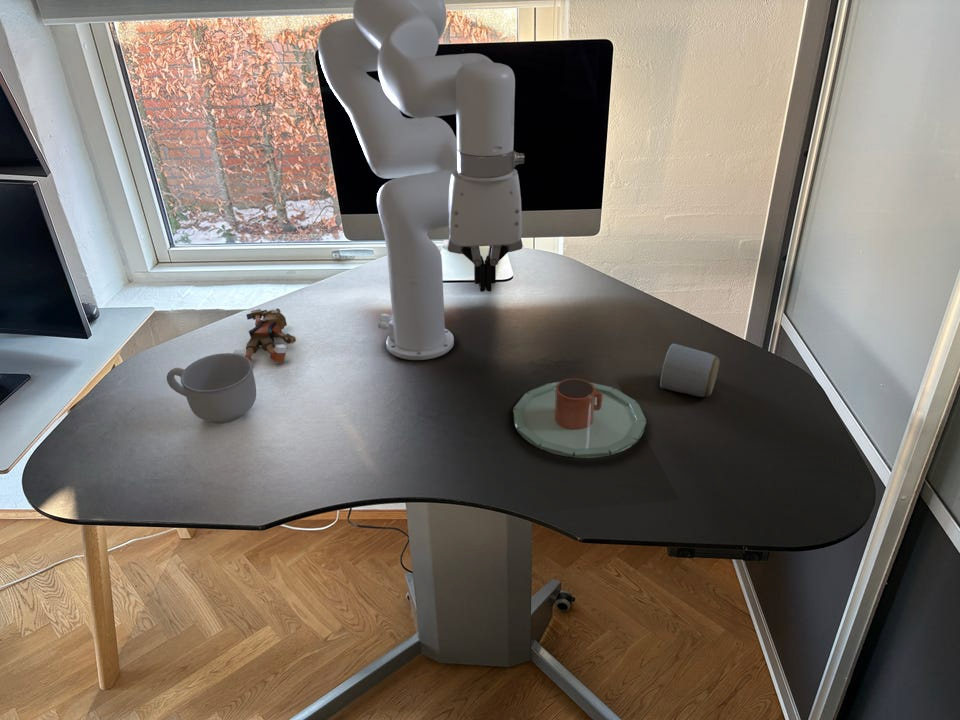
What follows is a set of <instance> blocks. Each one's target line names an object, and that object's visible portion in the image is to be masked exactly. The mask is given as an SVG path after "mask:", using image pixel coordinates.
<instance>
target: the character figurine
mask: <svg viewBox="0 0 960 720" xmlns="http://www.w3.org/2000/svg"><path fill="white" fill-rule="evenodd" d="M245 316H246V319H247V321H249V320H253V321H254V320H255V323H254V325H255V326H254V327H253V328H252V329H249V330H248V334H249V336H250V338H249V340H248V341H247V344H246V345H245V349H235V350H234V351H233V354H239V355H242V356H244V357H246V358H248V359H249V360H250V361H251V362H252V356H253V355H254V354H257V352H258V351H259V349H260V346H261V348H262V350H264V351H265V352H267V353H268V354H269V358H270V360H272V361H273V362H274V364H275V363H277V364H278V363H284V362H285V359H286V358H285V357H286V354H287V350H288V347H287V346H286V345H285V344H275V339H281V340H283V342H284V343H286V344H287V345H290V344H295V342H296V341H297V339H296V336H294V335H292V334H290V333H286V334H285V333H284V332H282V331H283V330H284V329H285V327H286V326H288V323H287V319H286V316H284V314H282V313H281V310H280V308H276V309H269V310H268V309H263V310H262V309H260V308H259V309H253V310H251V311H250V313H246V315H245Z"/></svg>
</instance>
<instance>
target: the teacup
mask: <svg viewBox="0 0 960 720" xmlns="http://www.w3.org/2000/svg"><path fill="white" fill-rule="evenodd" d="M233 353H234V352H233ZM233 353H232V352H231V353H230V352H223V353H214V354H211V355H207V356H203V357H201V358H198V359H197V360H195V361H193V362H191V364H190V365H188V366H187V367H186V368H185V369H184V368H182V367H173V368H171V369H170V370H169V371H168V372H167V374H166V382H167V385H168V387H170V388H171V389H172V390H173V391H174V392H176V393H177V394H179V395H181V396H183V397H185V398H186V400H187V404H188V406H189V408H190V410H191V411H192V413H193V414H194V415H195V416H196V417H198V418H199V419H200V420H201V419H202V420H204V421H206V422H207V421H208V422H212V423H228V422H232V421H235V420H237V419H239V418H240V417H242V416H243V415H245V414H246V413H247V412H248V411H249V410H250V409H251V408H252V407H253V405H254V403H255V401H256V398H257V385H256V380H255V379H256V378H255V374H254V369H253V368H254V366H253V362H252V361H250V360H249V359H248V358H246V357H244V356H242V355H239V354H233ZM175 376H177V377H180V383H181V384H180V383H179V382H178V381H177V380H176V378H175Z"/></svg>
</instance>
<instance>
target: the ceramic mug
mask: <svg viewBox="0 0 960 720" xmlns="http://www.w3.org/2000/svg"><path fill="white" fill-rule="evenodd" d="M719 368H720V358H719V357H718V356H717V355H714V354H712V353H710V352H707V351H702V350H700V349H699V350H698V349H695V348H692V347H688V346H685V345H681V344H677V343H671V344H670V346H669V348H668V350H667V352H666V355H665V358H664V361H663V365H662V370H661V375H660V382H659V387H660V388H661V389H664V390H668V391H672V392H676V393H680V394H687V395H690V396H694V397H700V398H708V397H710V396H711V395H712V394H713V393H712V392H713V390H714V388H715V384H716V380H717V378H718V377H717V376H718V373H719Z"/></svg>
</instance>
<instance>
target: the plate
mask: <svg viewBox="0 0 960 720" xmlns="http://www.w3.org/2000/svg"><path fill="white" fill-rule="evenodd" d="M559 382H560V381H555V382H553V381H552V383H551V382H548V383H546V384H543V385H541V386H539V387H536V388H533V389H531V390H529V391H526V392H525V393H524V394H523V396H521V398H520V399H519V400H518V402H517V403H516V404H515V406H514V407H513V409H512V415H513V422H514V426H515V430H516V431H517V433H518V434H519V435H520V436H521V437H522V438H524V439H525V440H526V441H527V442H529V443H530V444H531V445H533V446H535V448H537V449H538V448H539V449H540V450H543V451H545V452H549V453H551V454H554V455H559V456H564V457H569V458H576V459H579V458H580V459H585V458H586V459H591V458H593V459H594V458H601V457H602V458H603V457H609V456H613V455H615V454H617V453H620V452H623V451H626V450H627V449H629V448H631V447H632V446H634V445H636V444H637V443H638V442H639V440H640V438H641V437H642V435H643V434H644V433H645V428H646V426H647V419H646V416H645V414H644V413H643V409H642V408H641V406H640V405H639V403H638V402H637V400H635V399H633V398H631V397H630V396H629V395H627V394H625V393H624V392H622V391H620V390H619V389H617V388H614V387H612V386H609V385H604V384H599V383H595V382H590V381H589V382H590V383H591V384H593V385H594V387H595V389H596V392H599V391H600V392H601V393H602V394H603V396H602V408H601V409H600V410H595V411H594V419H593V423H592V424H591V425H590V426H589V427H587V428H584V429H578V430H573V429H567V428H564V427H561V426H560V425H558V424H557V423H556V421H555V419H554V411H555V388H556V385H557V384H558V383H559ZM595 405H597V397H595Z"/></svg>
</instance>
